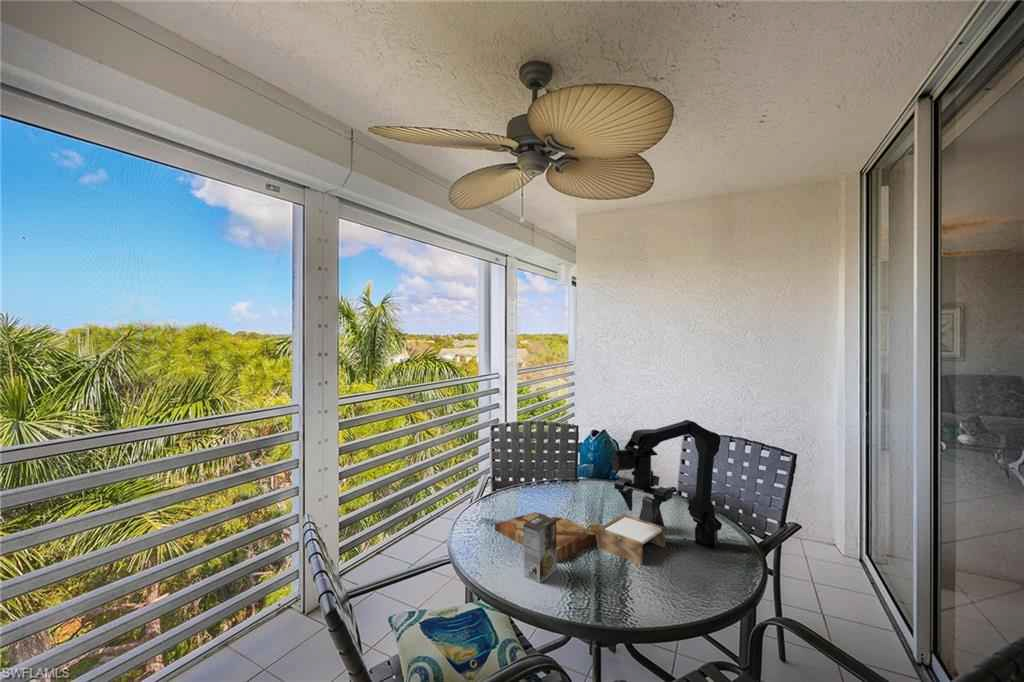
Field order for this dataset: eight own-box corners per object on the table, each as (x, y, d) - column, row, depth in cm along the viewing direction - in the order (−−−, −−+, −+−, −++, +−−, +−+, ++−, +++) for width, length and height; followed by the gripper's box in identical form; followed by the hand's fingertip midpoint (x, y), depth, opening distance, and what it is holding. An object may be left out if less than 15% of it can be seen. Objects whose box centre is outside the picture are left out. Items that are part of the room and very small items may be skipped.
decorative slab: (598, 545, 153) (597, 531, 153) (552, 565, 140) (552, 550, 140) (537, 516, 179) (537, 503, 179) (493, 530, 165) (493, 517, 165)
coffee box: (540, 564, 140) (540, 514, 139) (557, 571, 135) (557, 519, 135) (522, 576, 133) (522, 523, 132) (540, 584, 128) (540, 529, 128)
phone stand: (653, 524, 169) (653, 493, 169) (665, 530, 163) (665, 499, 163) (636, 529, 165) (636, 497, 165) (647, 536, 159) (647, 503, 159)
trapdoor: (661, 536, 151) (661, 528, 151) (641, 550, 141) (641, 542, 141) (625, 524, 160) (625, 516, 160) (604, 537, 150) (604, 528, 150)
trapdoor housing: (665, 545, 152) (665, 527, 152) (640, 565, 139) (640, 544, 139) (623, 531, 163) (623, 514, 163) (597, 547, 150) (597, 529, 150)
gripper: (679, 469, 147) (679, 515, 147) (629, 458, 160) (629, 500, 160) (664, 476, 139) (664, 525, 139) (613, 464, 152) (613, 509, 152)
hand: (642, 514), depth 148 cm, fingers open, 8 cm apart
